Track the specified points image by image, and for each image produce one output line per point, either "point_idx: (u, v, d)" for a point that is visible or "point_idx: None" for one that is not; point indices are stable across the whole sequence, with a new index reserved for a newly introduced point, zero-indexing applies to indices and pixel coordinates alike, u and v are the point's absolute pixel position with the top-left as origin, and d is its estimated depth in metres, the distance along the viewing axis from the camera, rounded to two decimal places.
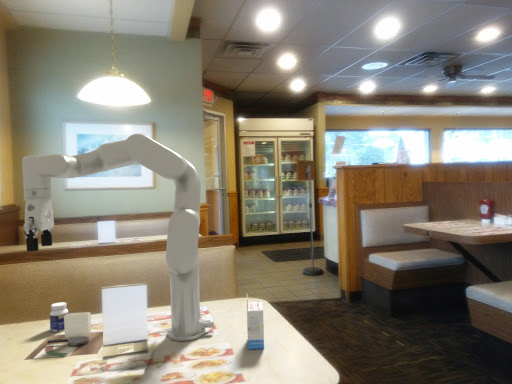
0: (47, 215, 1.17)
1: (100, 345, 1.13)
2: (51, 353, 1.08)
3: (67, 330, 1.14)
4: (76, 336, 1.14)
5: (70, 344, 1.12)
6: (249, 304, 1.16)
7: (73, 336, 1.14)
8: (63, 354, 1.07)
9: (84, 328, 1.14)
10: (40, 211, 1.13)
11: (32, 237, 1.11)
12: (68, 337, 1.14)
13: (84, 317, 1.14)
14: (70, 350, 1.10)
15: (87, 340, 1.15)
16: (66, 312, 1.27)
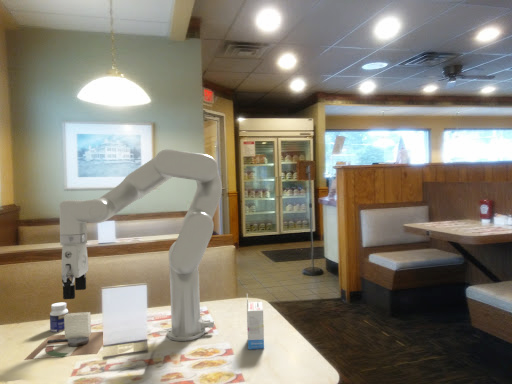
0: (83, 260, 1.15)
1: (100, 345, 1.13)
2: (51, 353, 1.08)
3: (67, 330, 1.14)
4: (76, 336, 1.14)
5: (70, 344, 1.12)
6: (249, 304, 1.16)
7: (73, 336, 1.14)
8: (63, 354, 1.07)
9: (84, 328, 1.14)
10: (77, 258, 1.11)
11: (69, 285, 1.09)
12: (68, 337, 1.14)
13: (84, 317, 1.14)
14: (70, 350, 1.10)
15: (87, 340, 1.15)
16: (66, 312, 1.27)
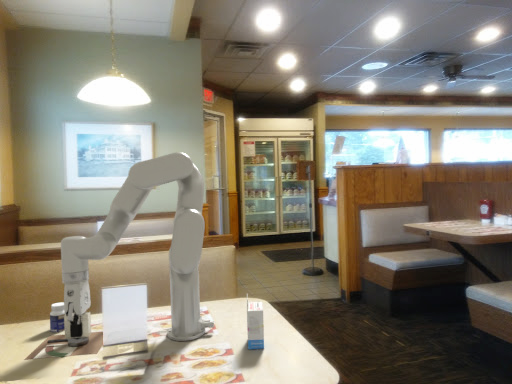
0: (85, 297, 1.15)
1: (100, 345, 1.13)
2: (51, 353, 1.08)
3: (67, 330, 1.14)
4: None
5: (70, 344, 1.12)
6: (249, 304, 1.16)
7: None
8: (63, 354, 1.07)
9: (84, 328, 1.14)
10: (79, 296, 1.11)
11: (76, 324, 1.13)
12: (68, 337, 1.14)
13: (84, 317, 1.14)
14: (70, 350, 1.10)
15: (87, 340, 1.15)
16: None
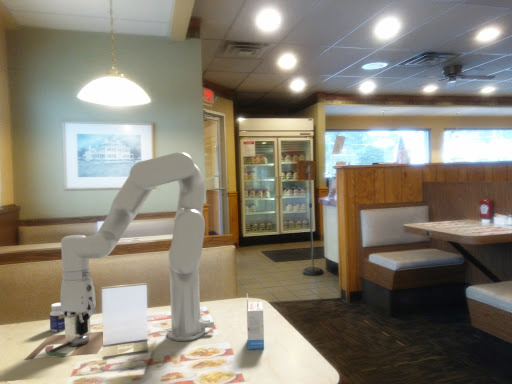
0: None
1: (100, 345, 1.13)
2: (51, 353, 1.08)
3: (73, 332, 1.12)
4: (80, 335, 1.14)
5: (79, 343, 1.13)
6: (249, 304, 1.16)
7: (78, 336, 1.14)
8: (63, 354, 1.07)
9: None
10: None
11: (86, 320, 1.15)
12: (73, 338, 1.12)
13: None
14: (70, 350, 1.10)
15: None
16: None
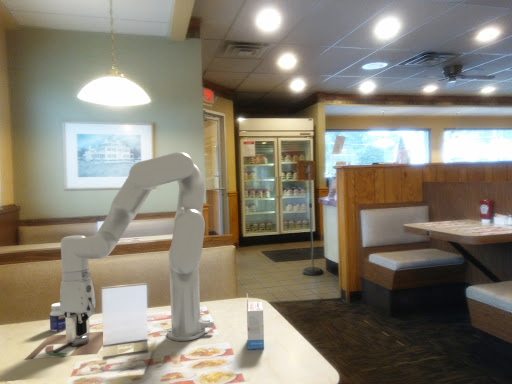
0: None
1: (100, 345, 1.13)
2: (51, 353, 1.08)
3: (74, 332, 1.12)
4: (81, 335, 1.15)
5: (81, 343, 1.13)
6: (249, 304, 1.16)
7: (78, 336, 1.14)
8: (63, 354, 1.07)
9: None
10: None
11: None
12: (75, 338, 1.12)
13: None
14: (70, 350, 1.10)
15: None
16: None
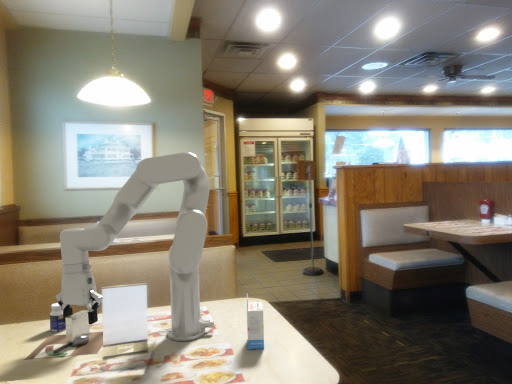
0: None
1: (100, 345, 1.13)
2: (51, 353, 1.08)
3: (74, 332, 1.12)
4: (81, 335, 1.15)
5: (81, 343, 1.13)
6: (249, 304, 1.16)
7: (78, 336, 1.14)
8: (63, 354, 1.07)
9: (86, 324, 1.17)
10: None
11: (96, 308, 1.14)
12: (75, 338, 1.12)
13: (86, 314, 1.17)
14: (70, 350, 1.10)
15: None
16: None
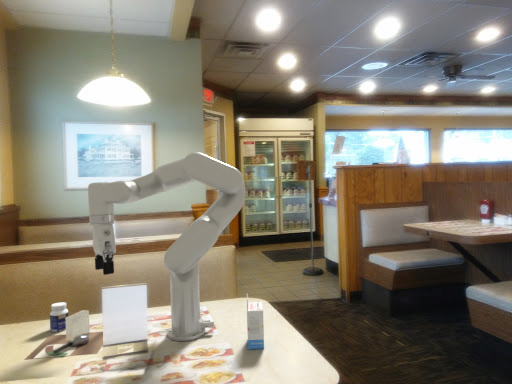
0: None
1: (100, 345, 1.13)
2: (51, 353, 1.08)
3: (74, 332, 1.12)
4: (81, 335, 1.15)
5: (81, 343, 1.13)
6: (249, 304, 1.16)
7: (78, 336, 1.14)
8: (63, 354, 1.07)
9: (86, 324, 1.17)
10: (114, 235, 1.19)
11: (111, 260, 1.17)
12: (75, 338, 1.12)
13: (86, 314, 1.17)
14: (70, 350, 1.10)
15: None
16: (66, 312, 1.27)
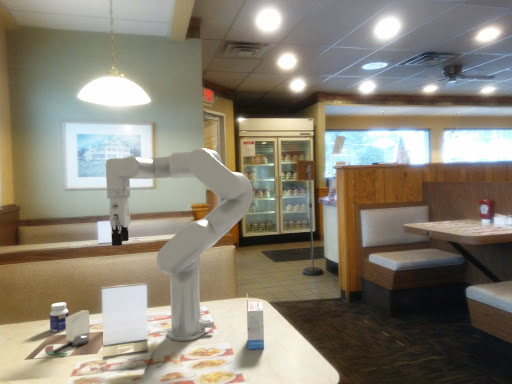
0: (127, 213, 1.28)
1: (100, 345, 1.13)
2: (51, 353, 1.08)
3: (74, 332, 1.12)
4: (81, 335, 1.15)
5: (81, 343, 1.13)
6: (249, 304, 1.16)
7: (78, 336, 1.14)
8: (63, 354, 1.07)
9: (86, 324, 1.17)
10: (123, 209, 1.24)
11: (117, 233, 1.22)
12: (75, 338, 1.12)
13: (86, 314, 1.17)
14: (70, 350, 1.10)
15: None
16: (66, 312, 1.27)
